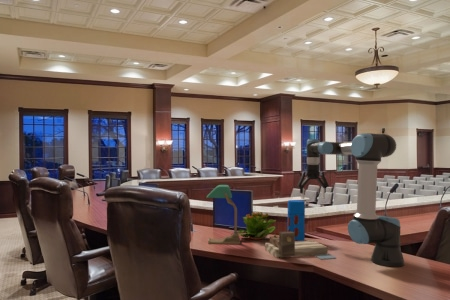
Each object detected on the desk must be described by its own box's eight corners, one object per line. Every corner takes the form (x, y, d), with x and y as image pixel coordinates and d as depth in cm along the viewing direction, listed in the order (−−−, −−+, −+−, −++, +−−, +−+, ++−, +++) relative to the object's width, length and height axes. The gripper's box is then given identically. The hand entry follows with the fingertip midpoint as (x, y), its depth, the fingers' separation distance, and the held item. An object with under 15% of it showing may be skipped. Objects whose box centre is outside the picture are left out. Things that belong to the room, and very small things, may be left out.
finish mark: (336, 258, 185) (336, 257, 185) (320, 259, 183) (320, 258, 183) (328, 254, 192) (328, 253, 192) (313, 255, 190) (313, 254, 190)
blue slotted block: (304, 242, 220) (304, 202, 220) (287, 241, 222) (287, 201, 223) (304, 238, 230) (304, 200, 231) (287, 237, 233) (287, 199, 233)
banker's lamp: (240, 245, 211) (240, 186, 211) (205, 245, 211) (206, 186, 212) (239, 239, 226) (240, 184, 227) (207, 239, 227) (207, 184, 228)
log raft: (327, 254, 193) (327, 247, 193) (276, 257, 185) (276, 250, 186) (313, 247, 208) (313, 240, 208) (265, 250, 201) (265, 242, 201)
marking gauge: (295, 255, 182) (295, 233, 182) (283, 256, 180) (283, 234, 181) (279, 246, 203) (279, 225, 203) (268, 246, 201) (268, 226, 201)
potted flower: (245, 232, 247) (246, 207, 248) (279, 235, 239) (279, 209, 240) (234, 240, 224) (234, 212, 224) (271, 243, 216) (271, 215, 216)
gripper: (328, 164, 226) (328, 197, 225) (291, 164, 221) (291, 198, 220) (334, 164, 219) (334, 198, 218) (296, 164, 213) (296, 199, 213)
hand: (312, 198), depth 219 cm, fingers open, 13 cm apart
